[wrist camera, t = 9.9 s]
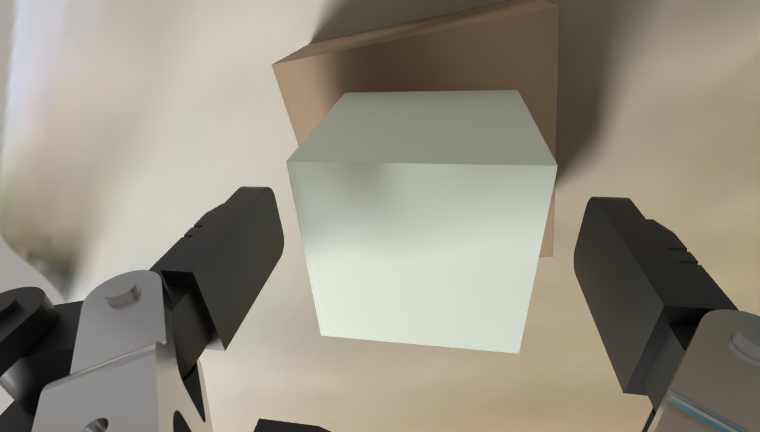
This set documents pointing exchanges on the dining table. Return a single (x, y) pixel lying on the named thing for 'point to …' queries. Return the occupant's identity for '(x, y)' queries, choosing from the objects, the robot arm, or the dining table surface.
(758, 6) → the dining table surface
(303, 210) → the sage cube
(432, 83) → the brown wooden block
